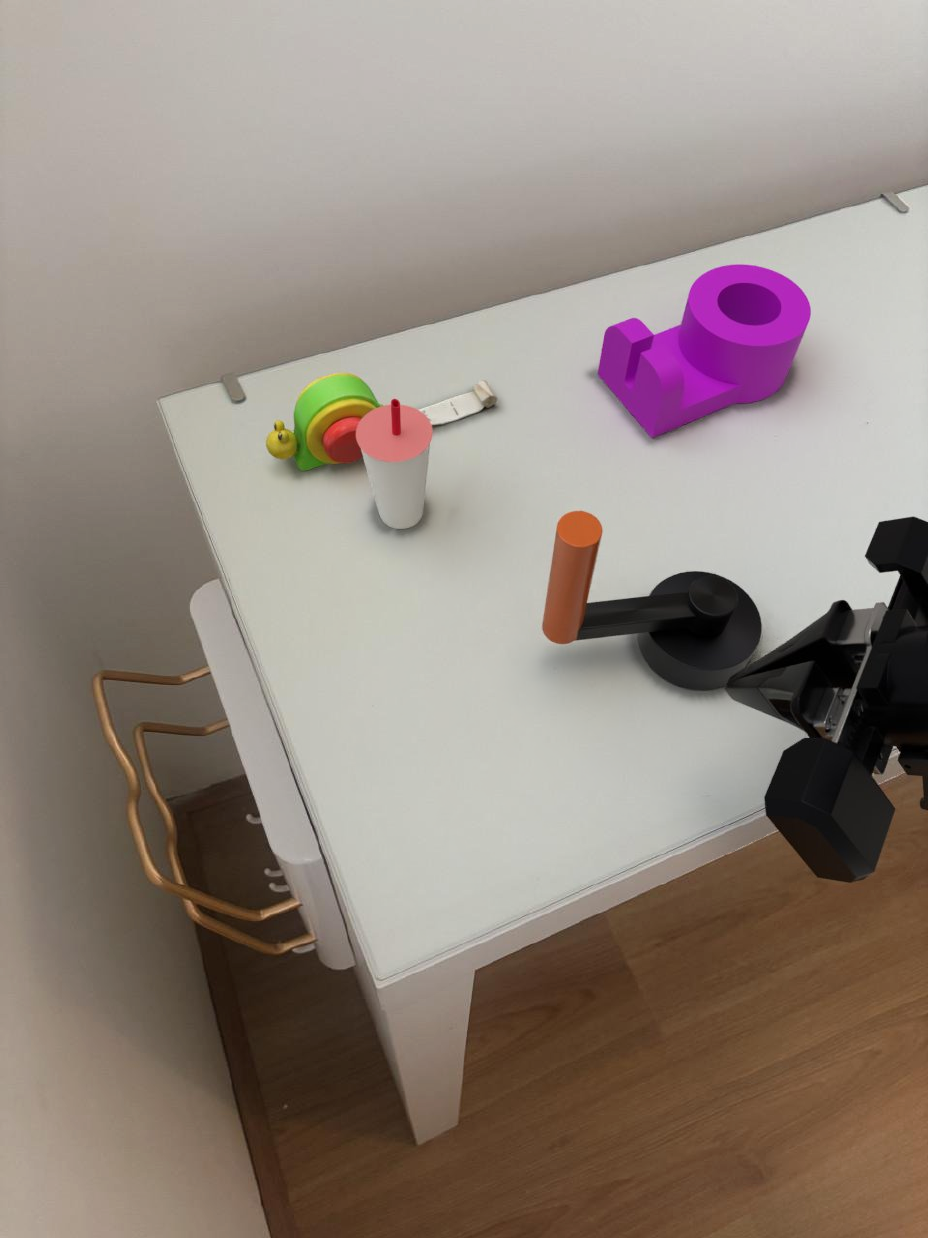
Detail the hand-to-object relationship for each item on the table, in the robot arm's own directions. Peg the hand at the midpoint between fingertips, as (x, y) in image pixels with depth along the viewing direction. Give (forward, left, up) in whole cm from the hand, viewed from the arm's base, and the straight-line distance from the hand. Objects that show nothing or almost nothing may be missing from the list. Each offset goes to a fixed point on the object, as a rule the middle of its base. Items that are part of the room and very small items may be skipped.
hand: (730, 689), depth 52 cm
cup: (+24, -15, -11) cm, 31 cm away
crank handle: (+5, -8, -7) cm, 12 cm away
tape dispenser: (+3, -36, -11) cm, 38 cm away
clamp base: (+1, -9, -11) cm, 14 cm away
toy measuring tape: (+28, -23, -11) cm, 38 cm away
